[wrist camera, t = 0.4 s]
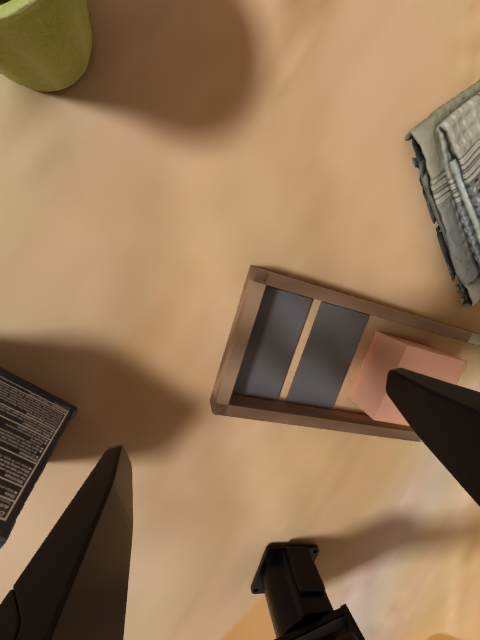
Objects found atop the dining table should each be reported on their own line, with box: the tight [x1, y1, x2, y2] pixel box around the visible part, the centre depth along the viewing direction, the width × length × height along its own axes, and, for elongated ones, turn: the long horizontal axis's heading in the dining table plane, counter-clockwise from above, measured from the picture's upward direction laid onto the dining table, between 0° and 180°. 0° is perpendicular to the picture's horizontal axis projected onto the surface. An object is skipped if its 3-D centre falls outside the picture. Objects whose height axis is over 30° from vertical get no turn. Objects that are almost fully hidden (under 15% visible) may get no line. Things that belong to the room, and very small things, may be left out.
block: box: [348, 331, 467, 426], centre depth 27 cm, size 7×7×4 cm
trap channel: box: [210, 265, 480, 442], centre depth 26 cm, size 12×34×4 cm, turn 73°
